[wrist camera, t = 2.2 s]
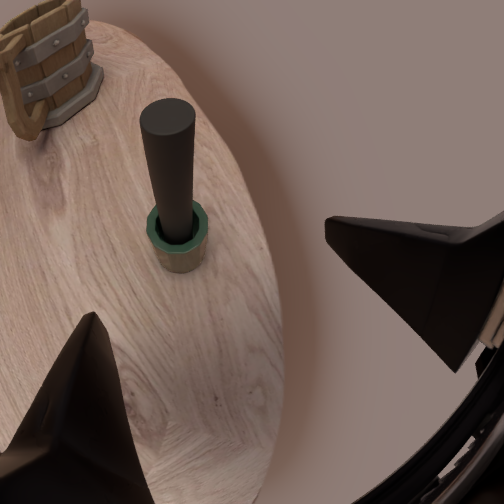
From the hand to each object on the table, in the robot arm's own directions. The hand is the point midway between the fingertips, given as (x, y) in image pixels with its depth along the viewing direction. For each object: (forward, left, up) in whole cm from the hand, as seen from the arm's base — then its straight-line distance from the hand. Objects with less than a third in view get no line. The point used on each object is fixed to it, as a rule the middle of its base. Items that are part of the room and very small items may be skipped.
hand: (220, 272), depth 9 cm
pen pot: (+5, +2, -12) cm, 13 cm away
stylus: (+5, +2, -12) cm, 13 cm away
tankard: (+23, +20, -12) cm, 33 cm away
